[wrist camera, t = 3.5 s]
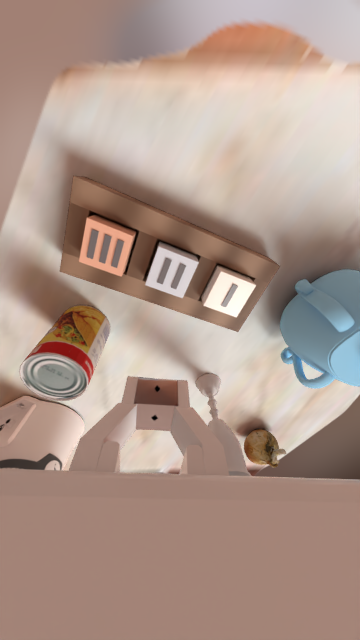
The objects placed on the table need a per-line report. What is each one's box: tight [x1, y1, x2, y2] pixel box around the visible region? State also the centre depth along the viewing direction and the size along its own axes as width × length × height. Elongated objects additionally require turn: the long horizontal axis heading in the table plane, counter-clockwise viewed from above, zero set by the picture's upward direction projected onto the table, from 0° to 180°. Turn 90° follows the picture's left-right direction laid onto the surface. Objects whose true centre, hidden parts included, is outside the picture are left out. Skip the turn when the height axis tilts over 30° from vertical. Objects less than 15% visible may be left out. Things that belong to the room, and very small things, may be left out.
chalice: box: [196, 374, 251, 476], centre depth 38 cm, size 7×7×18 cm
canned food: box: [19, 305, 110, 401], centre depth 32 cm, size 8×8×12 cm
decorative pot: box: [280, 269, 360, 388], centre depth 32 cm, size 16×16×14 cm
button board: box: [60, 176, 280, 332], centre depth 30 cm, size 26×11×4 cm, turn 68°
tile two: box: [145, 241, 199, 298], centre depth 28 cm, size 5×5×3 cm
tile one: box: [201, 265, 256, 317], centre depth 30 cm, size 5×5×3 cm
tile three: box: [79, 215, 136, 277], centre depth 26 cm, size 5×5×3 cm
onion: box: [244, 429, 286, 467], centre depth 51 cm, size 8×8×8 cm
